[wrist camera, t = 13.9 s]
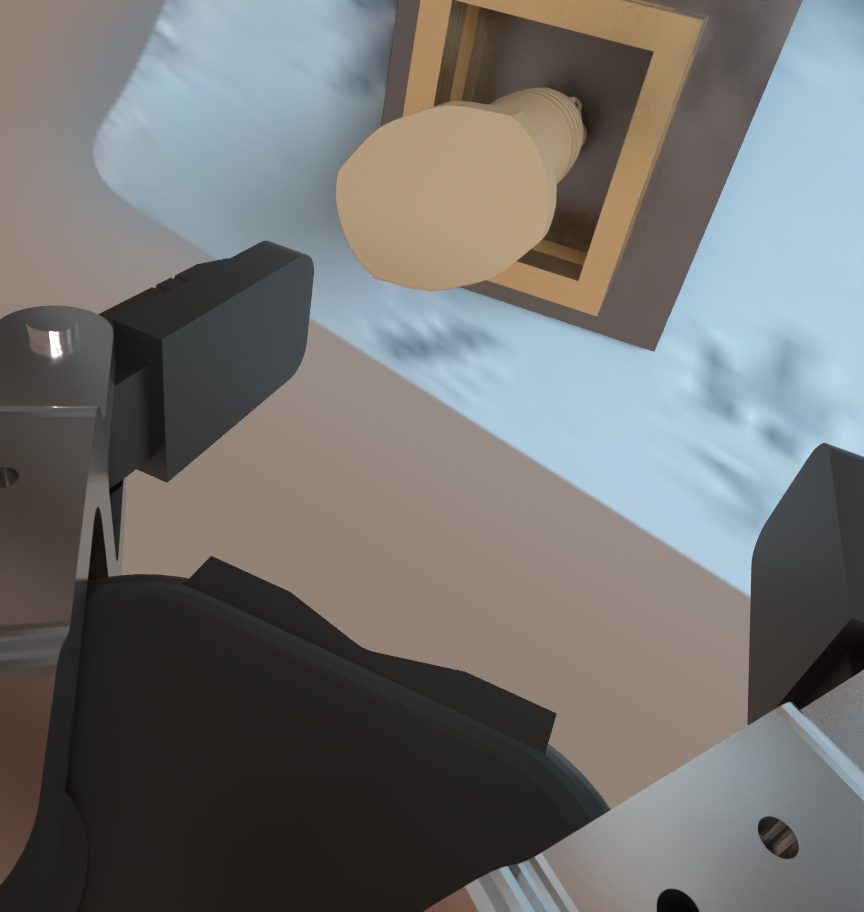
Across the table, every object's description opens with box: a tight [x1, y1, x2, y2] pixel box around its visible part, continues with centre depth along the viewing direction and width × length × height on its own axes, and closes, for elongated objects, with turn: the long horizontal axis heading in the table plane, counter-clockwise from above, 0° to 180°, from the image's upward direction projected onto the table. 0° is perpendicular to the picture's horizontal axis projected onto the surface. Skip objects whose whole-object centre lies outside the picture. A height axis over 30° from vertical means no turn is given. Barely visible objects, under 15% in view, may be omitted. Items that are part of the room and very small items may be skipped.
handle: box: [336, 87, 587, 291], centre depth 26 cm, size 5×6×15 cm
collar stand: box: [381, 0, 802, 351], centre depth 31 cm, size 17×16×6 cm
